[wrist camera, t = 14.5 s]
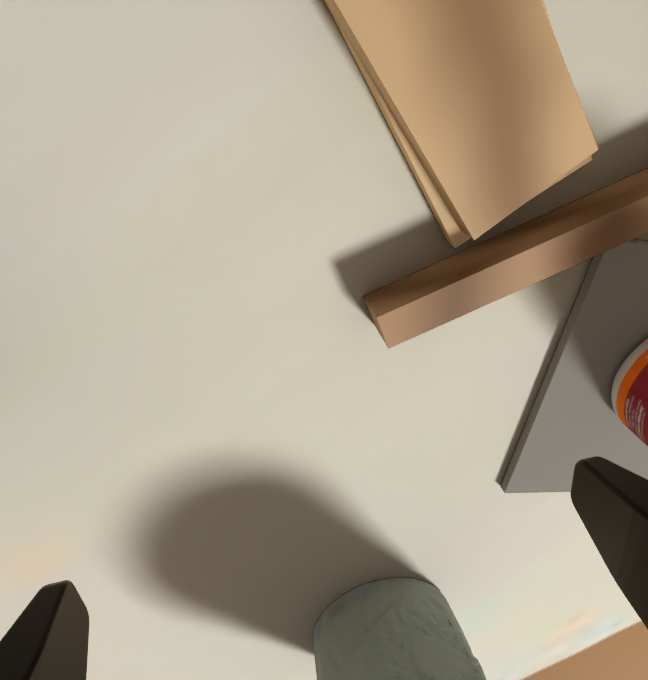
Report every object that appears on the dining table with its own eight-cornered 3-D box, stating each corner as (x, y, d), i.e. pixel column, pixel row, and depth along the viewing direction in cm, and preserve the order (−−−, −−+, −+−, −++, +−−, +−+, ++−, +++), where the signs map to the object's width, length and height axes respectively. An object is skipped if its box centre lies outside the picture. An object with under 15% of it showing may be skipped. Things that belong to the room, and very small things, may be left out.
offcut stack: (437, 242, 22) (461, 263, 20) (272, -75, 16) (282, -91, 14) (573, 153, 21) (613, 166, 19) (454, -212, 15) (492, -250, 13)
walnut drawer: (374, 325, 23) (436, 427, 17) (179, -168, 14) (161, -316, 8) (783, 141, 22) (996, 179, 16) (830, -478, 14) (1306, -870, 8)
